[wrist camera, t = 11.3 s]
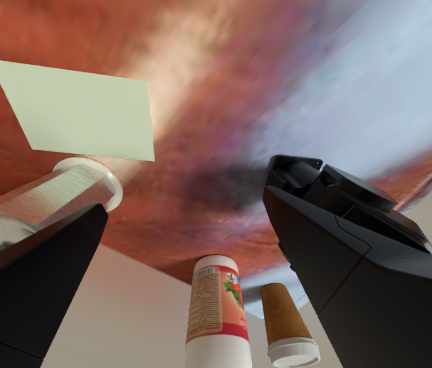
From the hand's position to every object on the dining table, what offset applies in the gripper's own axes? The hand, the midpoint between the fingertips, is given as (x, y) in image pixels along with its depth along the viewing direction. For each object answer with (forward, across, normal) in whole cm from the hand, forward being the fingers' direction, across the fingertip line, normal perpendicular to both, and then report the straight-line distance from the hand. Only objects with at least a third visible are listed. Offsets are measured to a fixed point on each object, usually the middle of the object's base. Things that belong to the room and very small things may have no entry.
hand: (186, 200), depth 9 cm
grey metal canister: (+13, +16, +6) cm, 21 cm away
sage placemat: (+14, +12, -3) cm, 19 cm away
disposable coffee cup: (+10, -15, +38) cm, 42 cm away
